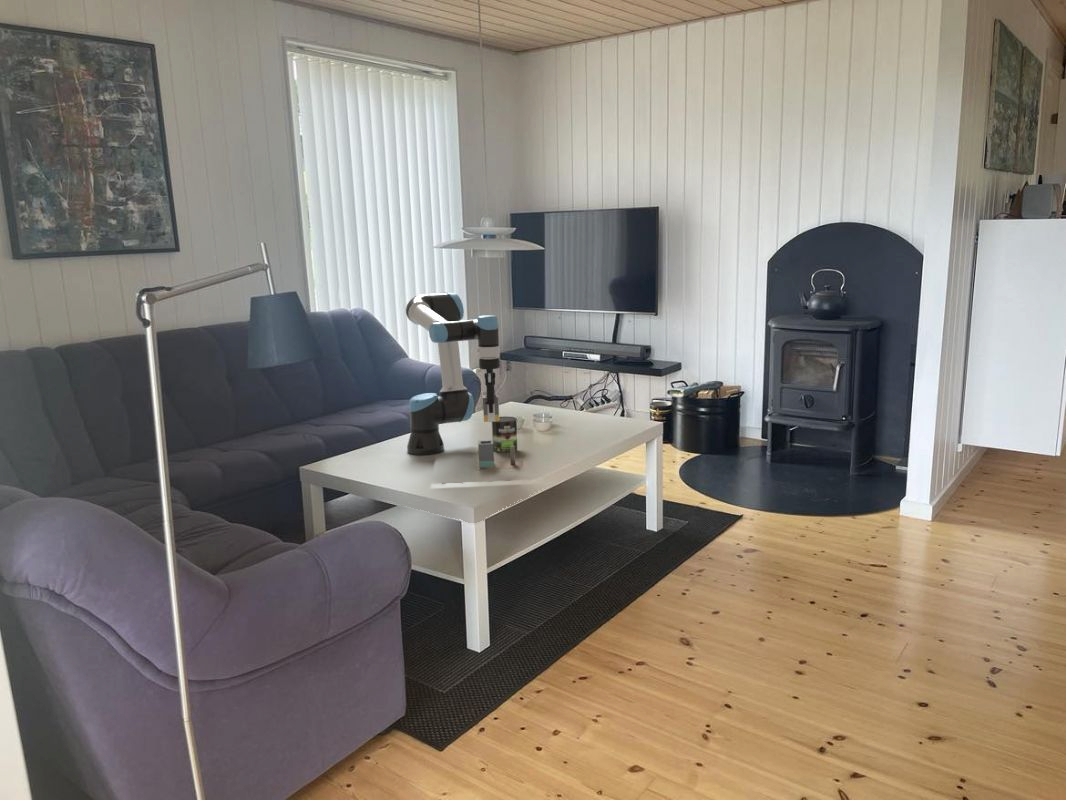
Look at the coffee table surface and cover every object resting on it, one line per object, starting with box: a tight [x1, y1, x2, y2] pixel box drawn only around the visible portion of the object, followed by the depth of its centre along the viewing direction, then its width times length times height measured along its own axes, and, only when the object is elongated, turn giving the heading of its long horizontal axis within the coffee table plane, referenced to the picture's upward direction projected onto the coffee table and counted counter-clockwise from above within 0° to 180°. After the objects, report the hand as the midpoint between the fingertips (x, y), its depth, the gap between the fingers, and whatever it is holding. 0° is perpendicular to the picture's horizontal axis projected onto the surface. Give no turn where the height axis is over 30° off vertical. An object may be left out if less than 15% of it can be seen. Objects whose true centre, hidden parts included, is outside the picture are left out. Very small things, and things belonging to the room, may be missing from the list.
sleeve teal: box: [477, 439, 495, 468], centre depth 308 cm, size 6×6×9 cm
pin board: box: [475, 446, 525, 471], centre depth 308 cm, size 18×10×8 cm, turn 93°
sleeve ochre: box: [482, 394, 500, 423], centre depth 303 cm, size 6×6×9 cm
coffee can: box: [491, 416, 518, 453], centre depth 331 cm, size 10×10×14 cm
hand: (491, 419), depth 304 cm, fingers closed on sleeve ochre, 6 cm apart
